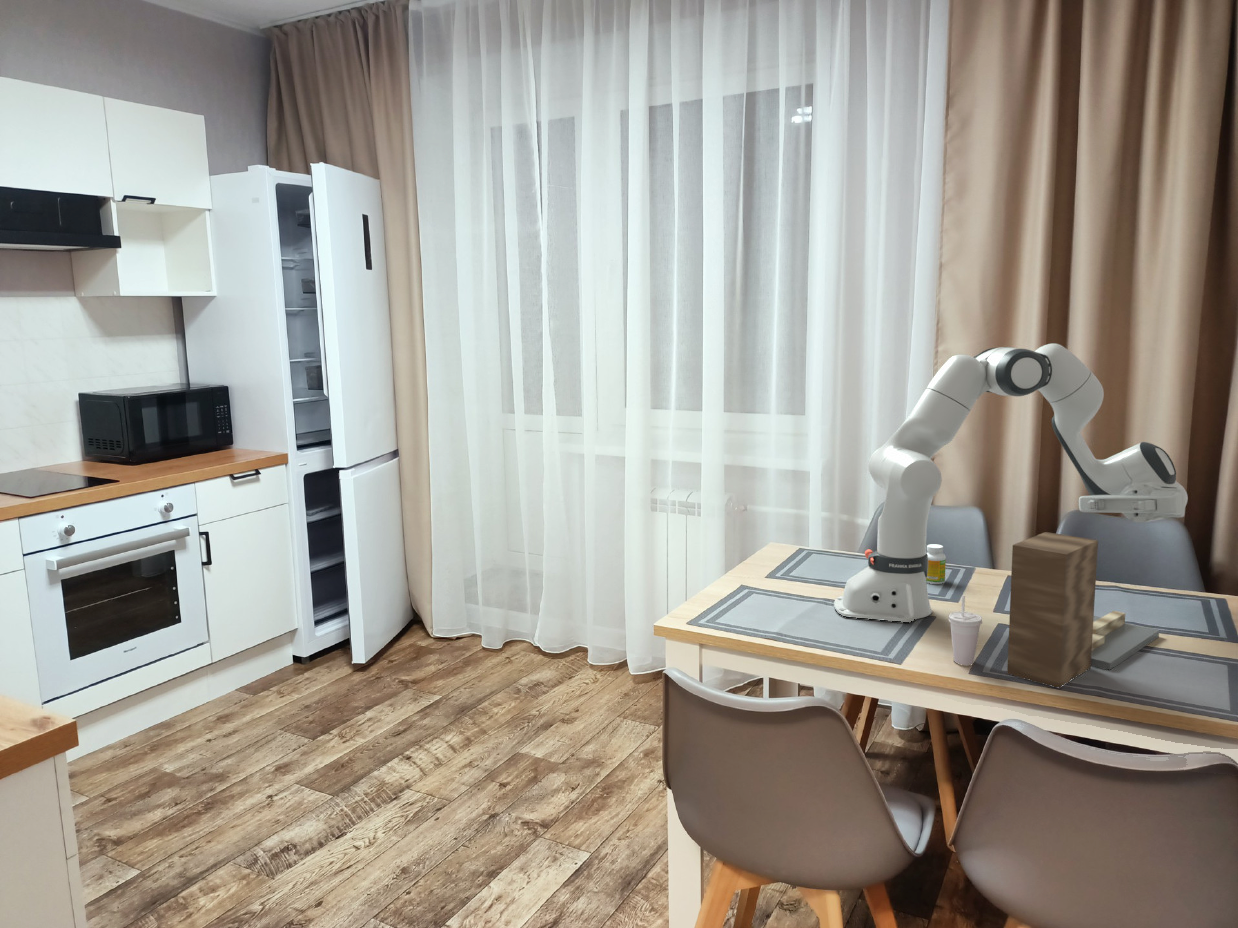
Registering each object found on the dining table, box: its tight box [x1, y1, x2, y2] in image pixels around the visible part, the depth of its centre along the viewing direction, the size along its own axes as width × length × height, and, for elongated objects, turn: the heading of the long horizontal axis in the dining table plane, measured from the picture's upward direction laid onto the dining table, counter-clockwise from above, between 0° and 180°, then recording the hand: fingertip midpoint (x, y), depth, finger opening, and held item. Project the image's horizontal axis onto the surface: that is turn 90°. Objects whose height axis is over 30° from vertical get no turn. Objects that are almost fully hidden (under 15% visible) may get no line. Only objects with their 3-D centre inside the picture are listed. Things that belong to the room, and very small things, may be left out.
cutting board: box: [1091, 615, 1160, 671], centre depth 189 cm, size 26×16×2 cm, turn 131°
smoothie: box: [948, 595, 983, 666], centre depth 180 cm, size 6×6×14 cm
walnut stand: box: [1006, 531, 1099, 689], centre depth 173 cm, size 14×10×26 cm
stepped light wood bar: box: [1092, 610, 1126, 650], centre depth 189 cm, size 23×6×2 cm, turn 130°
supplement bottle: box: [926, 543, 947, 585], centre depth 234 cm, size 5×5×10 cm
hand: (1113, 505), depth 192 cm, fingers open, 8 cm apart
